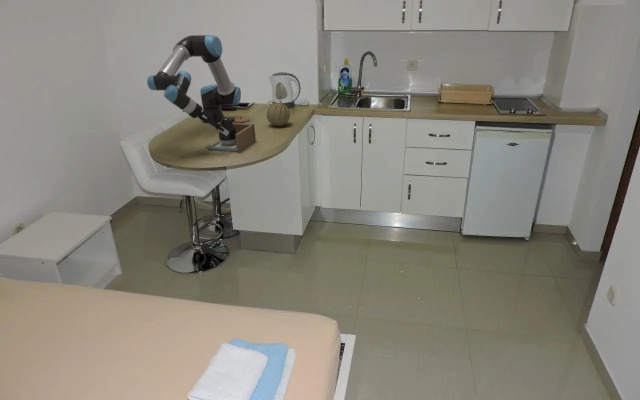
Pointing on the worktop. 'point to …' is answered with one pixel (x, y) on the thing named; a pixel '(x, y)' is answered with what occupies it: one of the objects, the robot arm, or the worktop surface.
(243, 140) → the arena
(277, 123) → the cantaloupe
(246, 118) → the lidded jar
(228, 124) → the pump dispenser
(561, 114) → the worktop surface
